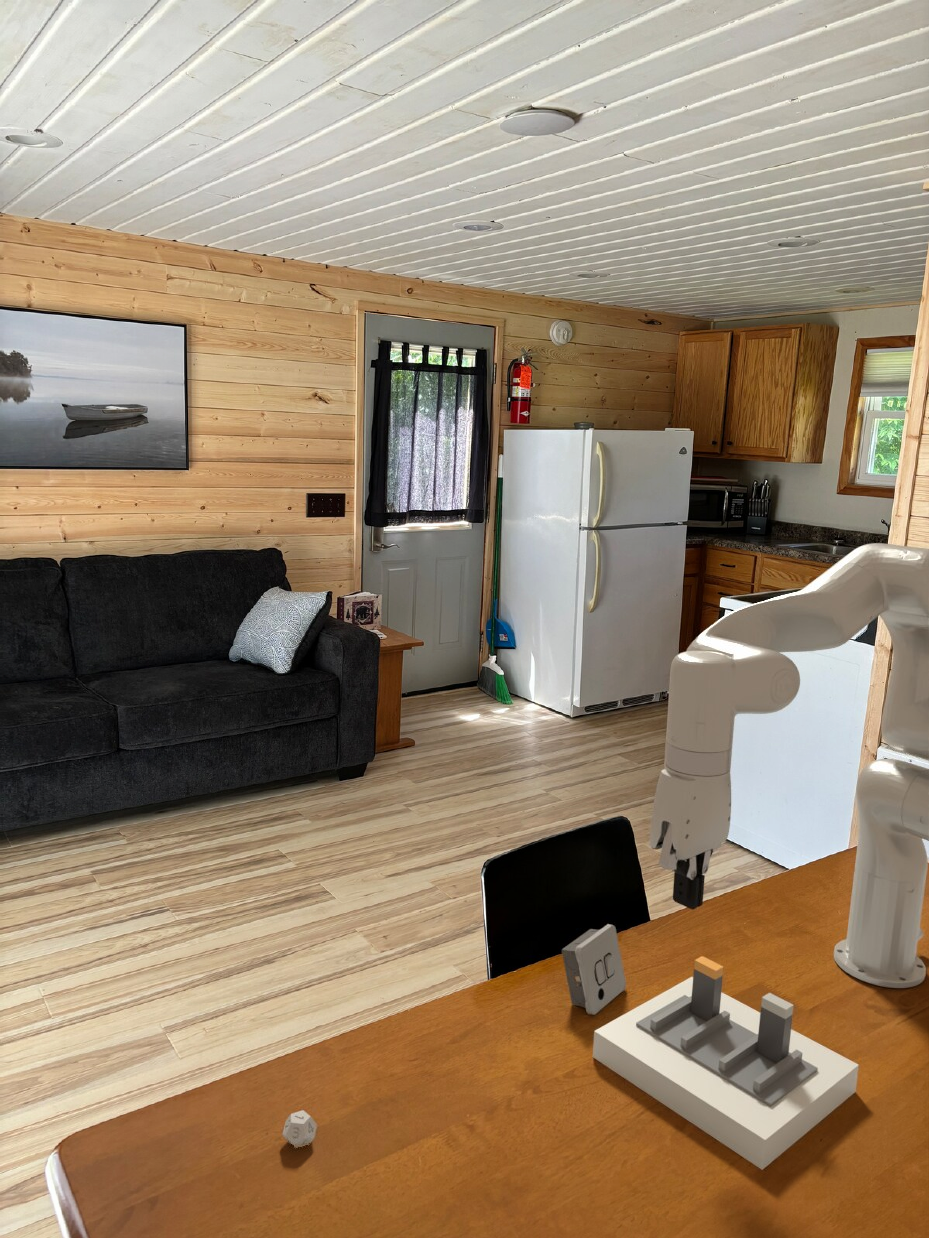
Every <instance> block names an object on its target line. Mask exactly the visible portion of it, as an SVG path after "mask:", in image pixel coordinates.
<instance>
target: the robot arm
mask: <svg viewBox="0 0 929 1238" xmlns="http://www.w3.org/2000/svg"><path fill="white" fill-rule="evenodd" d="M879 616H880V617H879ZM878 617H879V618H881V621H882V622H883V624H885V627H886V629H887V631H888V633H889V636H890V638H891V643H892V652H893V653H892V654H893V656H892V662H891V664H892V665H891V669H890V676H889V679H888V685H887V686H888V687H887V690H886V694H885V701H884V706H883V710H882V715H881V716H882V717H881V723H880V724H881V726H880V730H881V731H880V732H881V733H880V734H881V737H882V740H883V741H884V742H885V743H886V744H887V745H888V746H890V747H891V748H893V749H895V750H897V751H899V752H901V753H904V754H908V755H910V756H914V757H917V758H921V759H923V760H926V761H929V548H926V547H925V548H923V547H916V546H906V545H900V544H892V543H891V544H890V543H881V542H880V543H879V542H876V543H875V542H874V543H867V544H863V545H861V546H858V547H856V548H855V549H853V550H852V551H851V552H849V553H848V554H846V555H845V556H843V557H842V558H841V559H839V560H838V561H837V562H836V563H834V564H833V565H832V566H830V567H829V568H828V569H827V570H825V571H824V572H823V573H822V574H820V575H819V576H818V577H816V579H814V580H812V581H811V582H809V584H807V585H806V586H805V587H803V588H802V589H800V590H798V591H796V592H792V593H787V594H782V595H780V596H775V597H773V598H770V599H766V600H764V601H760V602H757V603H753V604H750V605H747V606H744V607H740V608H738V609H737V610H733V611H731V612H730V613H728V614H726V615H724V616H722V617H721V618H720V619H718V620H716V621H715V622H714V623H713V624H711V625H710V626H709V627H707V628H705V630H703V631H702V632H701V633H700V634H699V635H698V636H696V637H695V639H694V640H693V641H692V642H690V644H689V646H688V647H687V648H686V651H683V652H680V653H678V654H677V655H675V656H674V657H673V659H672V661H671V663H670V671H669V672H670V673H669V686H668V687H669V688H668V689H669V690H668V705H667V719H666V733H665V736H666V737H665V746H664V747H665V749H664V765H663V767H664V769H662V770H660V774H659V776H658V781H657V784H656V787H655V788H656V789H655V794H654V800H653V806H652V813H651V821H650V830H649V847H650V848H651V849H652V850H661V851H660V855H659V860H658V866H659V867H661V868H663V869H665V870H668V871H672V872H673V873H674V874H673V875H674V876H673V885H672V886H673V887H672V888H673V889H672V900H673V901H674V902H675V903H677V904H679V905H681V906H683V907H685V908H688V909H690V910H695V909H697V908H698V907H702V906H703V902H704V892H705V891H704V890H705V875H706V874H707V873H708V870H709V865H710V861H711V857H712V855H713V854H714V852H715V851H717V850H718V849H719V848H721V846H722V844H723V843H724V842H726V840H728V838H729V833H730V826H731V820H732V819H731V818H732V816H731V814H732V780H731V778H732V777H731V766H732V755H733V743H734V731H735V730H734V729H735V717H736V716H738V715H742V714H744V715H745V714H747V715H749V714H752V715H763V714H764V715H765V714H766V715H767V714H773V713H776V712H780V711H781V710H783V709H785V708H786V707H788V706H789V705H791V703H792V702H793V700H794V699H795V698H797V694H798V693H799V690H800V686H801V676H800V672H799V669H798V667H797V665H796V663H795V662H794V661H793V660H792V659H790V657H788V656H787V655H785V654H784V653H799V652H801V653H803V652H816V651H817V652H818V651H825V650H831V649H836V648H838V647H841V646H843V645H845V644H847V642H849V641H850V640H851V639H852V638H853V637H854V636H856V635H857V634H858V633H860V631H862V630H863V629H864V628H865V627H866V626H868V625H869V624H870V623H871V622H872V621H874V620H875V619H877V618H878ZM855 800H856V808H857V822H858V833H857V844H856V845H857V846H856V855H855V861H854V862H855V864H854V872H853V879H852V880H853V883H852V887H851V888H852V891H851V897H850V907H849V915H848V924H847V925H848V926H847V933H846V938H845V939H842V940H840V941H839V942H838V943H836V944H835V946H834V949H833V959H834V961H835V962H836V964H837V965H838V966H839V968H840V969H842V970H843V971H844V972H845V973H847V974H848V975H850V976H852V977H854V978H856V979H858V980H860V981H863V982H865V983H868V984H871V985H874V986H879V987H883V988H890V989H907V988H913V987H916V986H918V985H920V984H922V983H923V981H924V980H925V978H926V974H927V973H926V971H927V968H926V965H925V964H924V962H923V960H922V959H921V958H919V956H918V955H917V950H918V949H917V948H918V944H919V943H918V942H919V940H921V939H922V938H923V937H924V931H923V929H922V927H920V926H921V919H922V911H923V904H924V903H923V902H924V895H925V888H926V880H927V876H928V874H927V873H928V867H929V865H928V855H927V850H926V849H927V848H926V846H925V844H924V841H925V840H926V841H928V842H929V768H927V767H924V766H920V765H917V764H914V763H910V762H907V761H903V760H900V759H893V758H879V759H875V760H873V761H871V762H869V763H867V764H866V765H865V766H864V767H863V768H862V770H861V772H860V773H859V775H858V778H857V781H856V790H855ZM923 840H924V841H923Z"/></svg>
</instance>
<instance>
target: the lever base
mask: <svg viewBox="0 0 929 1238" xmlns="http://www.w3.org/2000/svg"><path fill="white" fill-rule="evenodd" d="M692 986H693V976H690V977H689V978H686V979H685V980H683V981H682V982H679V983H678V984H676V985H674V986H672V987H670V988H669V989H666V990H665V991H663V992H661V993H660V994H658V995H656V996H654V997H652V998H651V999H649V1000H647V1001H646V1002H644V1003H642V1004H640V1005H638V1006H637V1007H634V1008H633V1009H631V1010H629V1011H627V1012H626V1013H623V1014H622V1015H620V1016H618V1017H617V1018H614V1019H613V1020H611V1021H609V1022H608V1023H605V1024H604V1025H602V1026H601V1027H599V1028H597V1029H595V1030H593V1032H594V1033H593V1045H592V1058H594V1059H595V1060H597V1061H598V1062H600V1063H601V1064H602V1065H604V1066H605V1067H607V1068H608V1069H610V1070H611V1071H612V1072H615V1073H616V1074H617V1075H619V1076H621V1077H622V1078H624V1080H626V1081H628V1082H630V1083H631V1084H633V1085H634V1086H636V1087H637V1088H638V1089H640V1090H642V1091H643V1092H644V1093H646V1094H648V1095H649V1096H650V1097H652V1099H653V1098H654V1099H655V1100H657V1102H660V1103H661V1104H662V1105H663V1106H666V1107H667V1108H669V1109H670V1110H671V1111H672V1112H675V1113H676V1114H678V1115H679V1116H681V1117H682V1118H684V1120H686V1121H688V1122H690V1124H692V1125H694V1126H695V1127H697V1128H699V1129H700V1130H702V1131H703V1132H705V1133H706V1134H707V1135H709V1136H710V1137H713V1139H716V1140H717V1141H718V1142H720V1143H721V1144H722V1145H724V1146H725V1147H727V1148H729V1149H730V1150H732V1151H733V1152H735V1153H736V1154H738V1155H739V1156H741V1157H743V1158H744V1159H745V1160H746V1161H748V1162H750V1163H751V1164H752V1165H754V1166H756V1167H757V1168H758V1169H760V1170H764V1169H765V1168H766V1167H768V1166H769V1165H770V1164H771V1163H772V1162H773V1161H775V1160H776V1159H777V1158H779V1157H780V1156H781V1155H782V1154H783V1153H784V1152H786V1151H787V1150H788V1149H789V1148H791V1146H793V1145H794V1144H796V1142H798V1141H799V1140H800V1139H802V1138H803V1136H804V1135H806V1134H807V1133H808V1132H810V1131H811V1130H812V1129H813V1128H814V1127H815V1126H817V1125H818V1124H819V1123H820V1122H821V1121H822V1120H824V1119H825V1118H826V1117H828V1116H829V1115H830V1114H831V1113H833V1111H835V1110H836V1109H837V1108H838V1107H840V1106H841V1105H842V1104H843V1103H845V1102H846V1100H848V1098H850V1097H851V1096H852V1095H854V1094H855V1093H856V1090H857V1082H858V1074H859V1066H860V1064H858V1063H856V1062H854V1061H852V1060H850V1059H848V1058H847V1057H845V1056H843V1055H842V1054H839V1053H837V1052H836V1051H833V1050H831V1049H829V1048H828V1047H826V1046H824V1045H822V1044H820V1043H818V1042H817V1041H815V1040H812V1039H811V1038H809V1037H807V1036H805V1035H803V1034H801V1033H799V1032H797V1030H796V1031H795V1030H794V1029H792V1025H793V1016H794V1015H793V1013H794V1004H793V1003H791V1002H789V1001H787V1000H785V999H783V998H781V997H779V996H778V995H775V994H773V993H771V992H768V993H766V994H765V995H763V996H761V1002H760V1003H761V1004H760V1012H759V1011H758V1010H756V1009H754V1008H752V1007H750V1006H748V1005H746V1004H745V1003H742V1002H741V1001H739V1000H737V999H736V998H733V997H731V996H729V995H728V994H725V993H724V992H722V991H721V1001H720V1013H719V1014H718V1015H717V1016H715V1017H713V1018H712V1019H710V1020H708V1021H706V1020H704V1019H703V1018H701V1017H699V1016H697V1015H696V1014H694V1013H692V1012H690V1010H691V998H692Z"/></svg>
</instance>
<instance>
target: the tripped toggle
mask: <svg viewBox="0 0 929 1238" xmlns="http://www.w3.org/2000/svg"><path fill="white" fill-rule="evenodd" d="M693 965H694V966H693V974H692V975H693V976H692V977H693V986H692V998H691V1010H690V1012H692V1013H694V1014H696V1015H697V1016H699V1017H701V1018H703V1019H704V1020H706V1021H708V1020H710V1019H712V1018H713V1017H715V1016H717V1015H718V1014H719V1013H720V1001H721V992H722V988H723V979H724V966H723V965H721V964H719V963H717V962H715V961H713V960H711V959H709V958H707V957H705V956H703V955H701V956H700V957H698V958H696V959H694V964H693Z"/></svg>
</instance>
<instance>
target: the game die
mask: <svg viewBox="0 0 929 1238" xmlns="http://www.w3.org/2000/svg"><path fill="white" fill-rule="evenodd" d="M317 1127H318V1124H317V1123H316V1122H315V1120H314V1119H313V1117H312V1116H311V1115H310V1114H308V1113H307V1112H306V1111H305V1110H303V1109H302V1110H299V1111H296V1112H292V1113H290V1115H289V1116H288V1117H287V1118H286V1120H285V1123H284V1127H283V1131H282V1136H283V1137H284V1138H285V1140H286V1139H287V1140H288V1141H290V1143H291V1144H293V1145H294V1146H295V1147H298V1146H301V1145H304V1144H308V1143H310V1144H311V1143H312V1142H313V1140H314V1139H315V1137H316V1131H317ZM287 1140H286V1141H287ZM288 1141H287V1142H288ZM290 1143H289V1144H290ZM291 1144H290V1145H291ZM295 1147H294V1148H295Z"/></svg>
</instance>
